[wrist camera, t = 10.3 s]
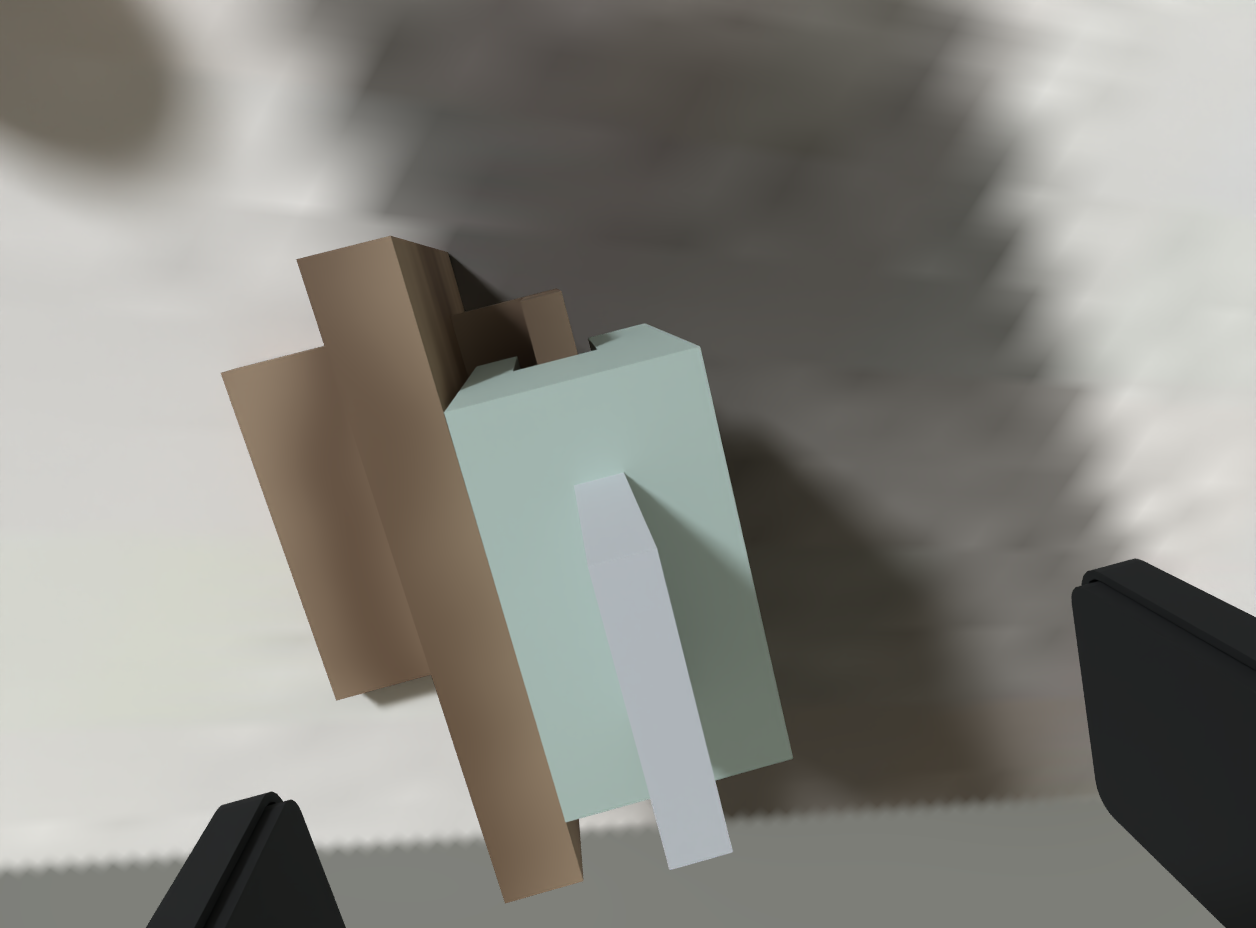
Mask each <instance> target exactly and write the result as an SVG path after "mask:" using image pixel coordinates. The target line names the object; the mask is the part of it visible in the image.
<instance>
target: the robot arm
mask: <svg viewBox="0 0 1256 928" xmlns="http://www.w3.org/2000/svg"><path fill="white" fill-rule="evenodd" d="M1072 608H1073V616H1074V623H1075V631H1076V638H1077V646H1078V653H1079V661H1080V668H1081V676H1082V683H1083V691H1084V698H1085V705H1086V713H1087V720H1088V728H1089V735H1090V743H1091V750H1092V758H1093V765H1094V773H1095V780H1096V785H1097V789H1098V792H1099V795H1100V797H1101V799H1102V801H1103V803H1104V805H1105V807H1106V808H1107V810H1108V811H1109V813H1110V814H1111V815H1112V816H1113V817H1114V819H1116V821H1117V822H1118V823H1119V824H1121V825H1122V826H1123V827H1124V828H1125V829H1126V830H1127V831H1128V832H1129V833H1130V834H1131V835H1132V836H1133V837H1134V838H1135V839H1136V840H1137V841H1138V842H1139V843H1140V844H1141V845H1142V846H1143V847H1144V848H1145V849H1146V850H1147V851H1148V852H1149V853H1150V854H1151V855H1152V856H1153V857H1154V858H1155V859H1156V860H1157V861H1158V862H1159V863H1160V864H1161V865H1162V866H1163V867H1164V868H1165V869H1167V871H1169V873H1171V875H1173V876H1174V877H1175V878H1176V879H1177V880H1178V881H1179V882H1180V883H1181V884H1182V885H1183V886H1184V887H1185V888H1186V889H1187V890H1188V891H1189V892H1190V893H1191V894H1192V895H1193V896H1194V897H1195V898H1196V899H1197V900H1198V901H1199V902H1200V903H1201V904H1202V905H1203V906H1204V907H1205V908H1206V909H1207V910H1208V911H1209V912H1210V913H1211V914H1212V915H1213V916H1214V917H1215V918H1216V919H1217V920H1218V921H1219V922H1220V923H1222V925H1224V926H1225V927H1226V928H1256V617H1254V616H1252V615H1250V614H1248V613H1246V612H1244V611H1242V610H1240V609H1238V608H1236V607H1234V606H1232V605H1230V604H1228V603H1226V602H1224V601H1222V600H1220V599H1218V598H1216V597H1214V596H1212V595H1210V594H1208V593H1206V592H1204V591H1202V590H1200V589H1198V588H1196V587H1194V586H1192V585H1190V584H1188V583H1186V582H1184V581H1182V580H1180V579H1178V578H1176V577H1174V576H1172V575H1170V574H1168V573H1166V572H1164V571H1162V570H1160V569H1158V568H1156V567H1154V566H1152V565H1150V564H1148V563H1146V562H1144V561H1142V560H1139V559H1132V560H1128V561H1124V562H1120V563H1117V564H1113V565H1109V566H1105V567H1102V568H1098V569H1094V570H1091V571H1087V572H1086V573H1085V575H1084V576H1083V580H1082V586H1079V587H1075V589H1074V590H1073V592H1072ZM146 928H346V927H345V924H344V922H343V919H342V917H341V914H340V912H339V909H338V906H337V904H336V901H335V899H334V896H333V893H332V891H331V888H330V885H329V883H328V880H327V878H326V875H325V872H324V870H323V867H322V865H321V862H320V860H319V857H318V854H317V851H316V849H315V846H314V844H313V841H312V838H311V836H310V833H309V831H308V828H307V825H306V823H305V820H304V817H303V815H302V812H301V810H300V808H299V806H298V805H297V803H296V802H295V801H293V800H288V801H284V802H283V801H282V799H281V798H280V797H279V796H278V794H276V793H274V792H268V793H265V794H261V795H257V796H254V797H250V798H246V799H243V800H239V801H235V802H231V803H228V804H224V805H221V806H220V807H219V808H218V809H217V811H216V812H215V814H214V815H213V817H212V819H211V820H210V822H209V824H208V825H207V827H206V829H205V830H204V832H203V834H202V835H201V837H200V839H199V840H198V842H197V844H196V845H195V847H194V849H193V850H192V852H191V854H190V855H189V857H188V859H187V860H186V862H185V864H184V865H183V867H182V869H181V870H180V872H179V874H178V875H177V877H176V879H175V880H174V882H173V884H172V885H171V887H170V889H169V890H168V892H167V894H166V895H165V897H164V898H163V900H162V902H161V903H160V905H159V907H158V908H157V910H156V912H155V913H154V915H153V917H152V918H151V920H150V922H149V923H148V925H147V927H146Z"/></svg>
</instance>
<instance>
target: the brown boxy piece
mask: <svg viewBox="0 0 1256 928" xmlns="http://www.w3.org/2000/svg"><path fill="white" fill-rule="evenodd" d="M296 260H297V263H298V266H299V269H300V272H301V275H302V278H303V281H304V284H305V287H306V291H307V294H308V297H309V300H310V303H311V306H312V309H313V312H314V315H315V318H316V321H317V324H318V328H319V331H320V334H321V337H322V340H323V343H324V346H322V347H318V348H314V349H310V350H306V351H302V352H299V353H295V354H291V355H287V356H283V357H279V358H275V359H271V360H267V361H263V362H259V363H255V364H252V365H248V366H244V367H240V368H236V369H232V370H229V371H226V372H222V373H221V375H222V378H223V381H224V384H225V387H226V389H227V392H228V395H229V398H230V401H231V404H232V406H233V409H234V412H235V415H236V418H237V421H238V423H239V426H240V429H241V432H242V435H243V437H244V440H245V443H246V446H247V449H248V452H249V454H250V457H251V460H252V463H253V466H254V469H255V471H256V474H257V477H258V480H259V483H260V486H261V488H262V491H263V494H264V497H265V500H266V503H267V505H268V508H269V511H270V514H271V517H272V520H273V522H274V525H275V528H276V531H277V534H278V537H279V539H280V542H281V545H282V548H283V551H284V554H285V556H286V559H287V562H288V565H289V568H290V571H291V573H292V576H293V579H294V582H295V585H296V588H297V590H298V593H299V596H300V599H301V602H302V605H303V607H304V610H305V613H306V616H307V619H308V622H309V624H310V627H311V630H312V633H313V636H314V639H315V641H316V644H317V647H318V650H319V653H320V656H321V658H322V661H323V664H324V667H325V670H326V673H327V675H328V678H329V681H330V684H331V687H332V690H333V692H334V695H335V698H336V700H340V699H344V698H347V697H351V696H355V695H358V694H362V693H366V692H369V691H373V690H377V689H380V688H384V687H388V686H391V685H395V684H399V683H402V682H406V681H410V680H413V679H417V678H421V677H424V676H428V675H431V676H432V679H433V682H434V685H435V688H436V691H437V695H438V698H439V701H440V704H441V707H442V710H443V713H444V716H445V719H446V722H447V725H448V728H449V732H450V735H451V738H452V741H453V744H454V747H455V750H456V753H457V756H458V759H459V762H460V765H461V769H462V772H463V775H464V778H465V781H466V784H467V787H468V790H469V793H470V796H471V799H472V803H473V806H474V809H475V812H476V815H477V818H478V821H479V824H480V827H481V830H482V833H483V836H484V840H485V843H486V846H487V849H488V852H489V855H490V858H491V861H492V864H493V867H494V870H495V873H496V877H497V879H498V883H499V886H500V889H501V892H502V895H503V898H504V901H505V903H508V902H512V901H515V900H518V899H522V898H526V897H529V896H533V895H536V894H540V893H543V892H546V891H550V890H554V889H557V888H561V887H564V886H568V885H571V884H575V883H578V882H582V881H583V869H582V855H581V841H580V828H579V819H576V820H573V821H569V822H565V819H564V816H563V812H562V809H561V805H560V802H559V799H558V795H557V792H556V789H555V785H554V782H553V778H552V775H551V772H550V768H549V765H548V762H547V758H546V755H545V751H544V748H543V745H542V741H541V738H540V735H539V731H538V728H537V724H536V721H535V718H534V714H533V711H532V708H531V704H530V701H529V698H528V694H527V691H526V687H525V684H524V681H523V677H522V674H521V671H520V667H519V664H518V660H517V657H516V654H515V650H514V647H513V644H512V640H511V637H510V633H509V630H508V627H507V623H506V620H505V617H504V613H503V610H502V606H501V603H500V600H499V596H498V593H497V590H496V586H495V583H494V579H493V576H492V573H491V569H490V566H489V563H488V559H487V556H486V552H485V549H484V546H483V542H482V539H481V536H480V532H479V529H478V525H477V522H476V519H475V515H474V512H473V509H472V505H471V502H470V498H469V495H468V492H467V488H466V485H465V482H464V478H463V475H462V472H461V468H460V465H459V461H458V458H457V455H456V451H455V448H454V445H453V441H452V438H451V434H450V431H449V428H448V424H447V421H446V418H445V414H444V412H445V410H446V409H447V408H448V406H449V405H450V403H451V402H452V401H453V399H454V398H455V396H456V395H457V393H458V392H459V391H460V389H461V388H462V386H463V385H464V384H465V382H466V381H467V379H468V378H469V376H470V375H471V374H472V372H473V371H474V369H475V368H476V367H477V366H480V365H484V364H488V363H492V362H496V361H500V360H504V359H508V358H512V357H516V356H517V357H518V361H519V364H520V368H521V369H524V368H528V367H532V366H536V365H539V364H543V363H547V362H551V361H555V360H559V359H563V358H567V357H571V356H575V355H578V353H577V349H576V345H575V342H574V338H573V334H572V330H571V326H570V322H569V319H568V315H567V311H566V307H565V303H564V299H563V295H562V292H561V291H560V290H558V289H553V290H549V291H545V292H541V293H537V294H533V295H529V296H525V297H521V298H517V299H514V300H510V301H506V302H502V303H498V304H494V305H490V306H486V307H482V308H478V309H474V310H470V311H466V312H465V311H464V307H463V304H462V300H461V297H460V293H459V290H458V286H457V283H456V279H455V276H454V272H453V269H452V265H451V262H450V258H449V255H448V252H445V251H441V250H438V249H434V248H431V247H427V246H424V245H421V244H417V243H414V242H410V241H407V240H403V239H400V238H396V237H393V236H388V237H384V238H380V239H376V240H372V241H368V242H364V243H360V244H356V245H352V246H348V247H344V248H340V249H336V250H332V251H328V252H324V253H320V254H316V255H312V256H308V257H304V258H300V259H296Z"/></svg>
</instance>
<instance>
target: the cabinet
mask: <svg viewBox="0 0 1256 928" xmlns="http://www.w3.org/2000/svg"><path fill="white" fill-rule="evenodd" d="M588 340H589V344H590V348H591V351H590V352H586V353H582V354H578V355H575V356H571V357H567V358H563V359H559V360H555V361H551V362H547V363H543V364H539V365H536V366H532V367H528V368H524V369H521V368H520V364H519V361H518V357H517V356H516V357H512V358H508V359H504V360H500V361H496V362H492V363H488V364H484V365H480V366H477V367H476V368H475V369H474V371H473V372H472V374H471V375H470V376H469V378H468V379H467V381H466V382H465V384H464V385H463V386H462V388H461V389H460V391H459V392H458V393H457V395H456V396H455V398H454V399H453V401H452V402H451V403H450V405H449V406H448V408H447V409H446V410H445V412H444V414H445V418H446V421H447V424H448V428H449V431H450V434H451V438H452V441H453V445H454V448H455V451H456V455H457V458H458V461H459V465H460V468H461V472H462V475H463V478H464V482H465V485H466V488H467V492H468V495H469V498H470V502H471V505H472V509H473V512H474V515H475V519H476V522H477V525H478V529H479V532H480V536H481V539H482V542H483V546H484V549H485V552H486V556H487V559H488V563H489V566H490V569H491V573H492V576H493V579H494V583H495V586H496V590H497V593H498V596H499V600H500V603H501V606H502V610H503V613H504V617H505V620H506V623H507V627H508V630H509V633H510V637H511V640H512V644H513V647H514V650H515V654H516V657H517V660H518V664H519V667H520V671H521V674H522V677H523V681H524V684H525V687H526V691H527V694H528V698H529V701H530V704H531V708H532V711H533V714H534V718H535V721H536V724H537V728H538V731H539V735H540V738H541V741H542V745H543V748H544V751H545V755H546V758H547V762H548V765H549V768H550V772H551V775H552V778H553V782H554V785H555V789H556V792H557V795H558V799H559V802H560V805H561V809H562V812H563V816H564V819H565V822H569V821H573V820H576V819H580V818H583V817H587V816H590V815H594V814H598V813H601V812H605V811H608V810H612V809H615V808H619V807H622V806H626V805H630V804H633V803H637V802H640V801H644V800H647V799H651V803H652V807H653V810H654V814H655V818H656V821H657V825H658V829H659V833H660V836H661V840H662V844H663V847H664V851H665V854H666V858H667V862H668V866H669V870H672V869H675V868H679V867H682V866H686V865H689V864H693V863H696V862H699V861H703V860H707V859H710V858H714V857H717V856H721V855H725V854H728V853H731V852H733V850H732V846H731V842H730V838H729V834H728V830H727V826H726V822H725V818H724V814H723V810H722V806H721V802H720V798H719V794H718V790H717V786H716V782H715V780H719V779H722V778H726V777H729V776H733V775H737V774H740V773H744V772H747V771H751V770H754V769H758V768H762V767H765V766H769V765H772V764H776V763H779V762H783V761H787V760H790V759H793V756H792V751H791V747H790V742H789V738H788V734H787V729H786V725H785V720H784V716H783V711H782V707H781V703H780V698H779V694H778V689H777V685H776V681H775V676H774V672H773V667H772V663H771V658H770V654H769V650H768V645H767V641H766V636H765V632H764V627H763V623H762V619H761V614H760V610H759V605H758V601H757V597H756V592H755V588H754V583H753V579H752V574H751V570H750V566H749V561H748V557H747V552H746V548H745V543H744V539H743V535H742V530H741V526H740V521H739V517H738V513H737V508H736V504H735V499H734V495H733V490H732V486H731V482H730V477H729V473H728V468H727V464H726V459H725V455H724V451H723V446H722V442H721V437H720V433H719V429H718V424H717V420H716V415H715V411H714V406H713V402H712V398H711V393H710V389H709V384H708V380H707V375H706V371H705V367H704V362H703V358H702V353H701V349H700V346H697V345H695V344H693V343H690V342H688V341H686V340H683V339H681V338H678V337H676V336H674V335H671V334H669V333H667V332H664V331H662V330H659V329H657V328H655V327H652V326H650V325H647V324H641V325H637V326H633V327H629V328H625V329H621V330H617V331H613V332H609V333H606V334H602V335H598V336H594V337H590V338H588Z"/></svg>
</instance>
